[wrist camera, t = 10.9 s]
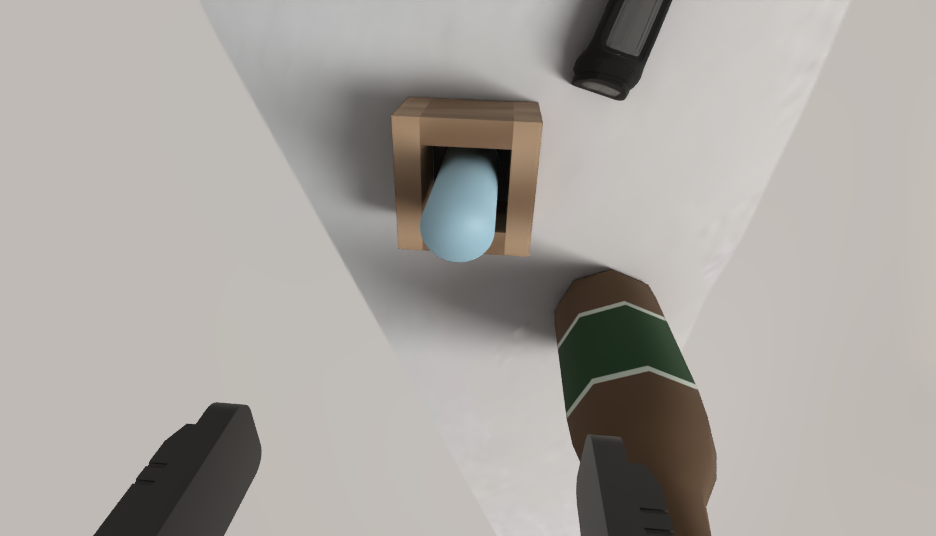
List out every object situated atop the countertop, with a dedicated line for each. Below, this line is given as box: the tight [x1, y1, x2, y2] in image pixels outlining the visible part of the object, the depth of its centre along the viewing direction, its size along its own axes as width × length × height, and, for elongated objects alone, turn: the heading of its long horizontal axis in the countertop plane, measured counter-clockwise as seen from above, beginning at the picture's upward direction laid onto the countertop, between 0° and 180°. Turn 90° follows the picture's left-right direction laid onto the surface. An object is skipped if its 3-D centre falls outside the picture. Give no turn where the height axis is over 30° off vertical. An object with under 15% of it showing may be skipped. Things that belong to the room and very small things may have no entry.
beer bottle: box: [555, 270, 716, 536], centre depth 26 cm, size 8×8×24 cm
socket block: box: [391, 97, 543, 257], centre depth 29 cm, size 8×8×5 cm
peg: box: [420, 147, 499, 262], centre depth 27 cm, size 4×4×10 cm
